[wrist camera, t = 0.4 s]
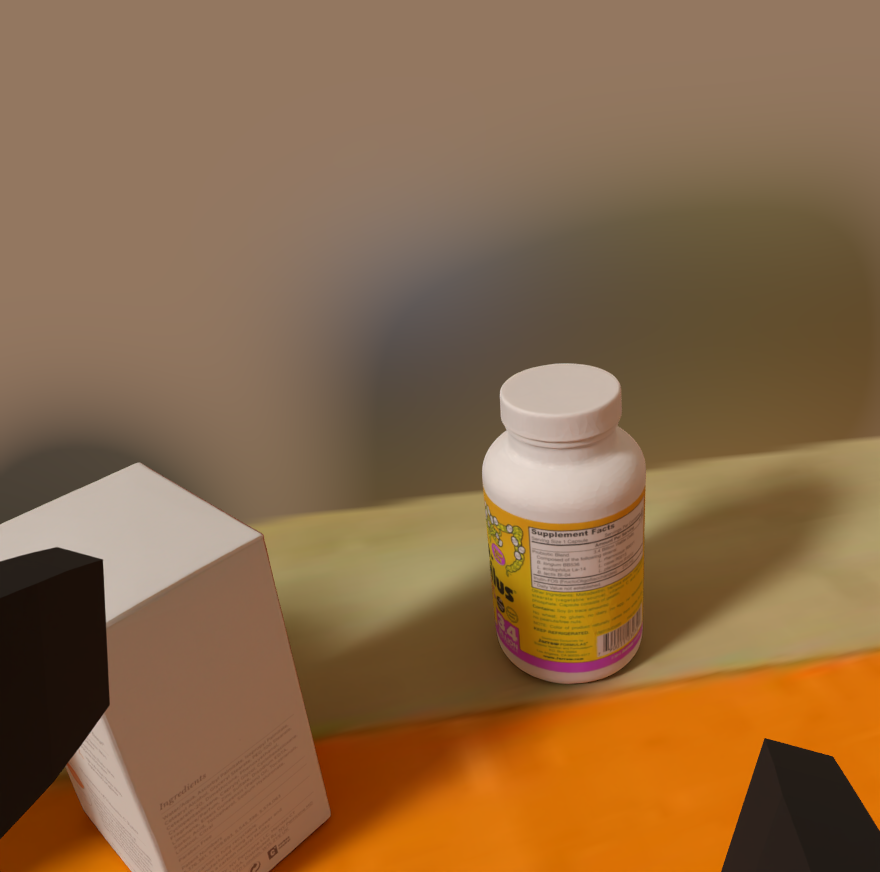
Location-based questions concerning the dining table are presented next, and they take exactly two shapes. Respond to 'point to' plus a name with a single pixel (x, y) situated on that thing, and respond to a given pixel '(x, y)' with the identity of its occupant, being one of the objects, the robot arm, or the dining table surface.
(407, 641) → the dining table surface
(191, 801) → the small box
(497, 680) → the dining table surface
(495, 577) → the supplement bottle
